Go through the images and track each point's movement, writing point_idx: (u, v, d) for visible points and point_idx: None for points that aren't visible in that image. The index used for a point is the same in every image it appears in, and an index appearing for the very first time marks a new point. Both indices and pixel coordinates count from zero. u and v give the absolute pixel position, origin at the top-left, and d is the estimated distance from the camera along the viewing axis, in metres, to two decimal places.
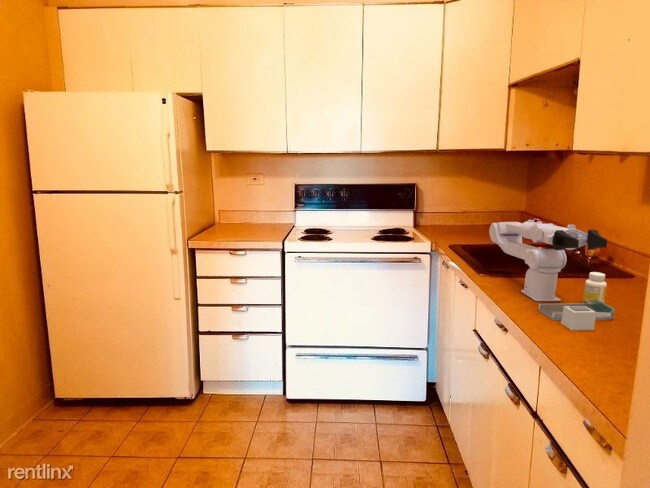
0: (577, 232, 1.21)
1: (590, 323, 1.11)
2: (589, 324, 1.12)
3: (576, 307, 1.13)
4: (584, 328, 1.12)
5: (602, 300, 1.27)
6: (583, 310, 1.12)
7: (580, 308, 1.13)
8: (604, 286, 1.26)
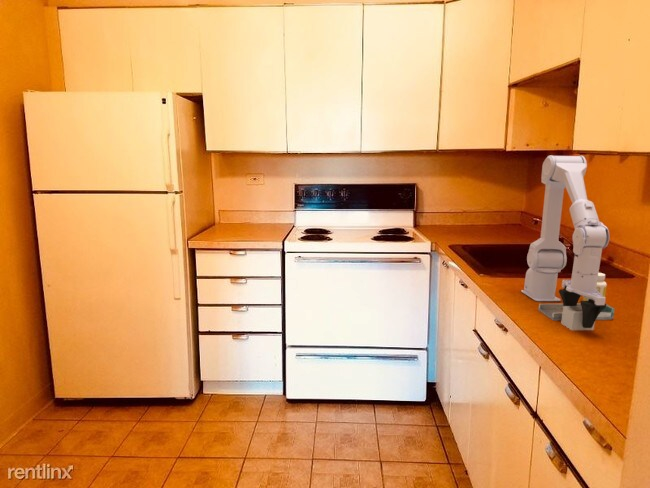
0: None
1: None
2: None
3: (576, 307, 1.13)
4: (584, 328, 1.12)
5: None
6: None
7: (580, 308, 1.13)
8: (604, 286, 1.26)
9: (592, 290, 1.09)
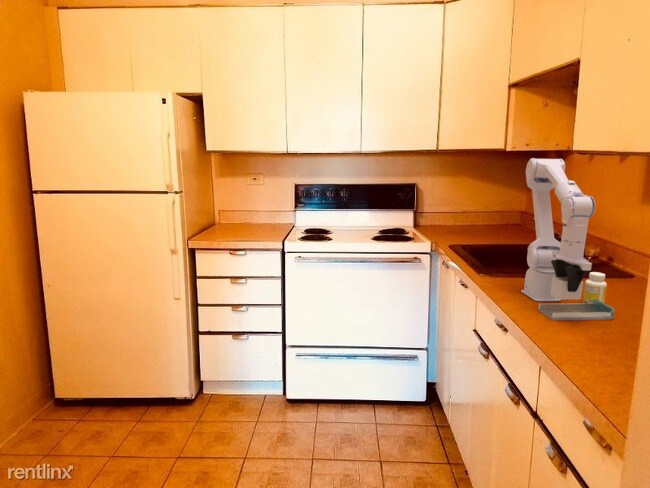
0: None
1: (577, 292, 1.18)
2: (576, 293, 1.18)
3: (564, 277, 1.20)
4: (572, 297, 1.18)
5: (602, 300, 1.27)
6: None
7: None
8: (604, 286, 1.26)
9: (579, 257, 1.15)
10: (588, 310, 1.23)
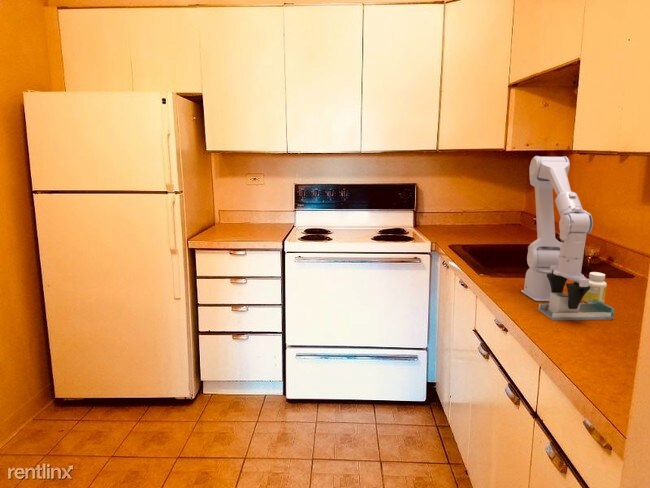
0: None
1: None
2: (574, 309, 1.19)
3: (562, 293, 1.21)
4: None
5: (602, 300, 1.27)
6: None
7: (566, 294, 1.20)
8: (604, 286, 1.26)
9: (577, 273, 1.16)
10: (588, 310, 1.23)
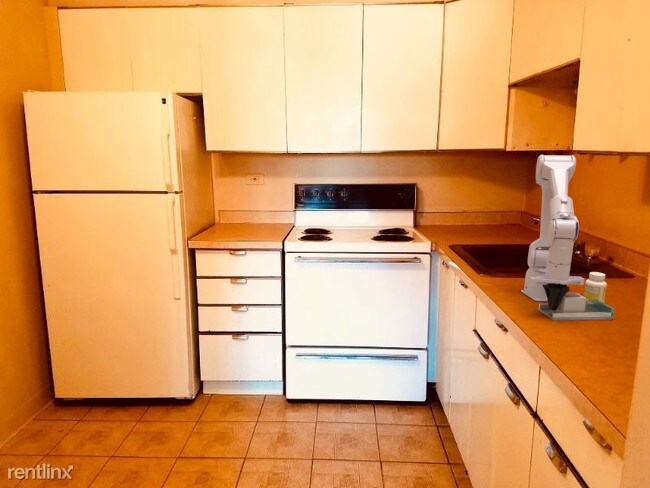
0: None
1: (580, 308, 1.19)
2: (580, 309, 1.19)
3: (567, 293, 1.21)
4: None
5: (602, 300, 1.27)
6: (574, 296, 1.19)
7: (572, 294, 1.20)
8: (604, 286, 1.26)
9: None
10: (588, 310, 1.23)
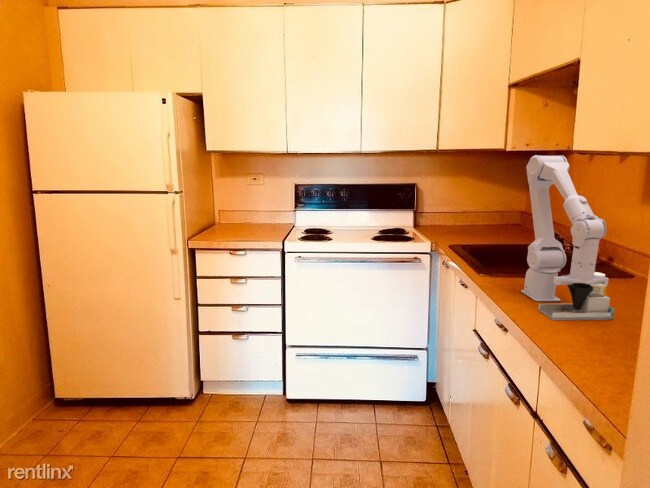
0: None
1: (604, 308, 1.19)
2: (603, 309, 1.19)
3: (591, 293, 1.21)
4: None
5: None
6: (598, 296, 1.20)
7: (595, 294, 1.20)
8: (604, 286, 1.26)
9: None
10: None
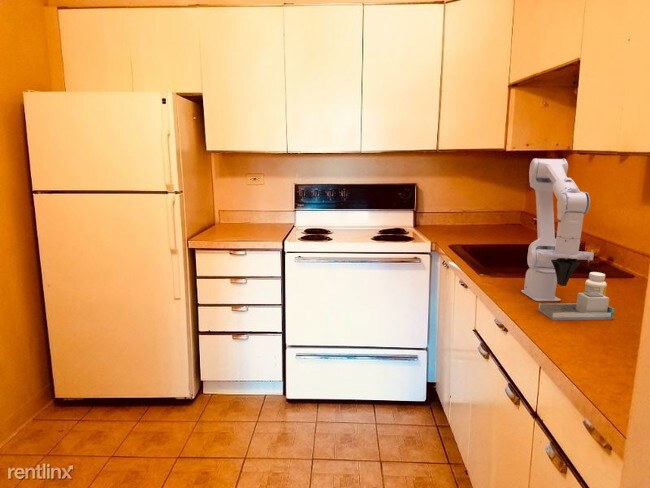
0: None
1: (603, 308, 1.19)
2: (602, 309, 1.19)
3: (590, 293, 1.21)
4: None
5: None
6: (597, 296, 1.20)
7: (594, 294, 1.20)
8: (604, 286, 1.26)
9: None
10: None
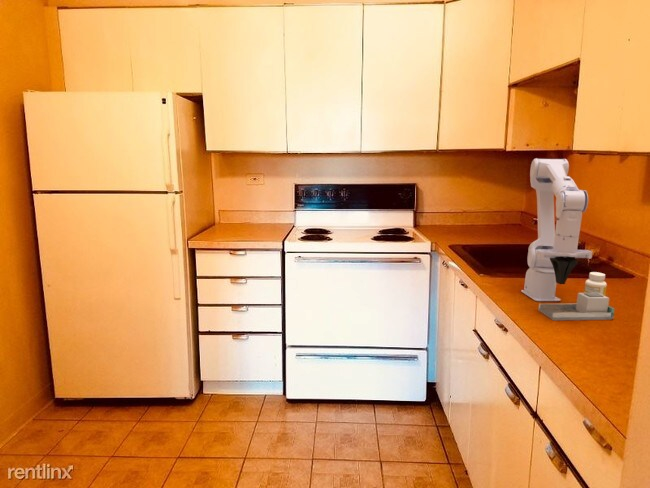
0: None
1: (603, 308, 1.19)
2: (602, 309, 1.19)
3: (590, 293, 1.21)
4: None
5: None
6: (597, 296, 1.20)
7: (594, 294, 1.20)
8: (604, 286, 1.26)
9: None
10: None
